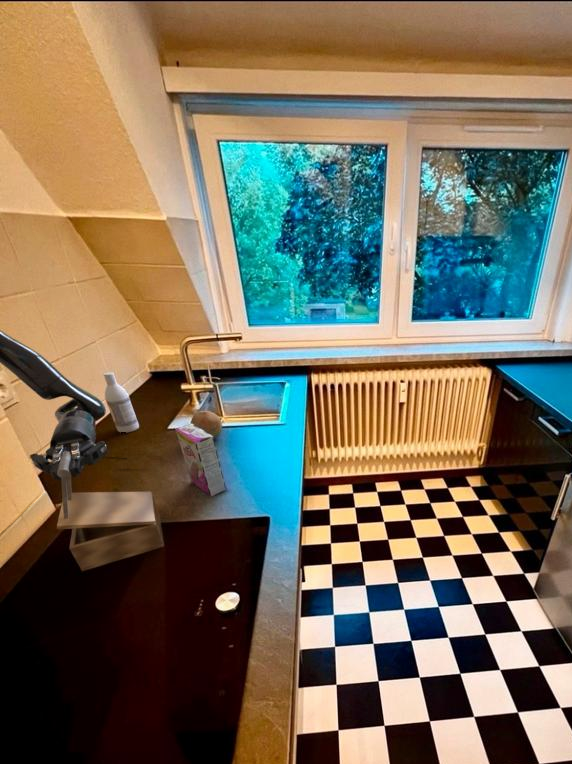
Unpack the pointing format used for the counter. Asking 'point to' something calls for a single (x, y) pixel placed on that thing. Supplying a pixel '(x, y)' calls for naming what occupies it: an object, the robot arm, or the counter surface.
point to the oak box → (114, 542)
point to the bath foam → (120, 405)
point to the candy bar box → (201, 459)
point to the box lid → (101, 505)
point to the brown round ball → (208, 422)
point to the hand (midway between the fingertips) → (65, 474)
